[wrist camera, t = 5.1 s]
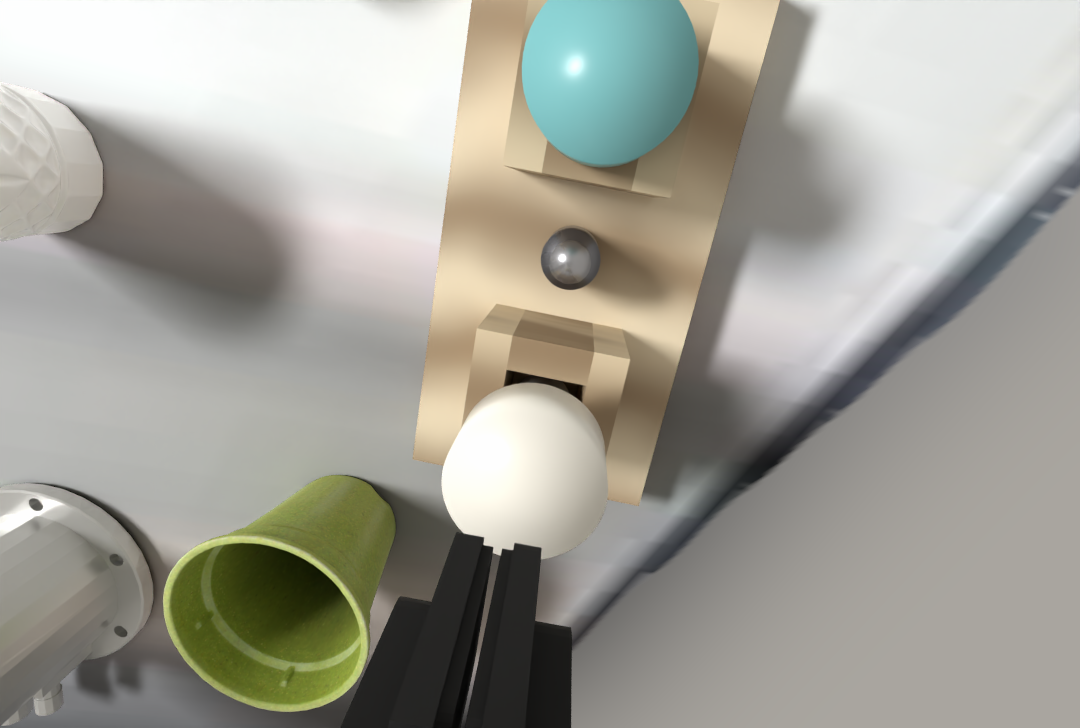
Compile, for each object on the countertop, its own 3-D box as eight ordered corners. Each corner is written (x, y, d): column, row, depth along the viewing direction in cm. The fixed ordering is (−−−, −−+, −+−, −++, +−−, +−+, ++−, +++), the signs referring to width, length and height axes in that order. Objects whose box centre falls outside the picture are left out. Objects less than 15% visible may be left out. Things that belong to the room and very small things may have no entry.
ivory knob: (586, 462, 24) (588, 574, 17) (476, 439, 24) (431, 541, 17) (612, 356, 23) (625, 430, 16) (494, 332, 23) (453, 395, 16)
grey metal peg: (592, 283, 25) (594, 299, 21) (541, 273, 25) (533, 287, 21) (603, 231, 24) (607, 238, 21) (550, 220, 24) (545, 225, 21)
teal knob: (645, 183, 23) (672, 178, 16) (531, 160, 24) (508, 145, 16) (675, 54, 22) (720, -14, 15) (553, 30, 22) (539, -49, 15)
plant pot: (275, 577, 34) (177, 700, 26) (261, 439, 31) (145, 528, 23) (423, 592, 34) (371, 723, 25) (422, 453, 31) (363, 549, 22)
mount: (635, 486, 30) (649, 568, 24) (423, 442, 30) (378, 512, 24) (770, -9, 23) (847, -92, 16) (491, -63, 23) (453, -166, 17)
